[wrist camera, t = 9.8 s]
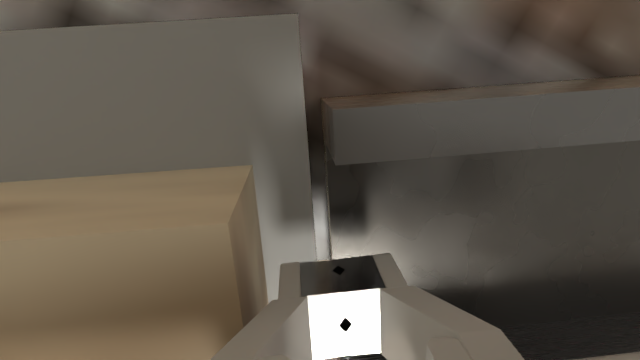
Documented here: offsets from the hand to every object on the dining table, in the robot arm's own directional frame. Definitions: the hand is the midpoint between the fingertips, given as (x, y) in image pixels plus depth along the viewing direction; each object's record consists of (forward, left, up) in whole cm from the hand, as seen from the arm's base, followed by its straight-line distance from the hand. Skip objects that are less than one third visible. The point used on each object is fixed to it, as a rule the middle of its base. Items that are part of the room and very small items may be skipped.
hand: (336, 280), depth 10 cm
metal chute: (0, -7, -2) cm, 7 cm away
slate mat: (0, +5, -2) cm, 6 cm away
